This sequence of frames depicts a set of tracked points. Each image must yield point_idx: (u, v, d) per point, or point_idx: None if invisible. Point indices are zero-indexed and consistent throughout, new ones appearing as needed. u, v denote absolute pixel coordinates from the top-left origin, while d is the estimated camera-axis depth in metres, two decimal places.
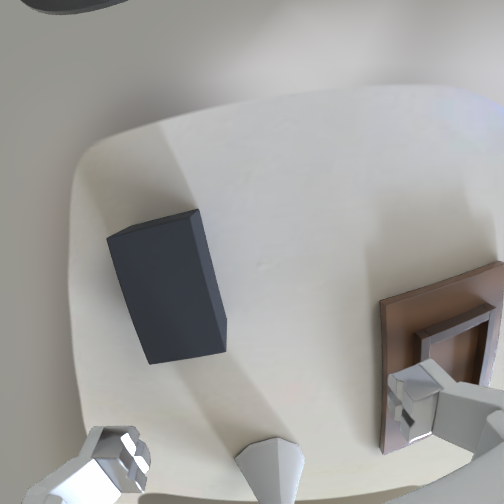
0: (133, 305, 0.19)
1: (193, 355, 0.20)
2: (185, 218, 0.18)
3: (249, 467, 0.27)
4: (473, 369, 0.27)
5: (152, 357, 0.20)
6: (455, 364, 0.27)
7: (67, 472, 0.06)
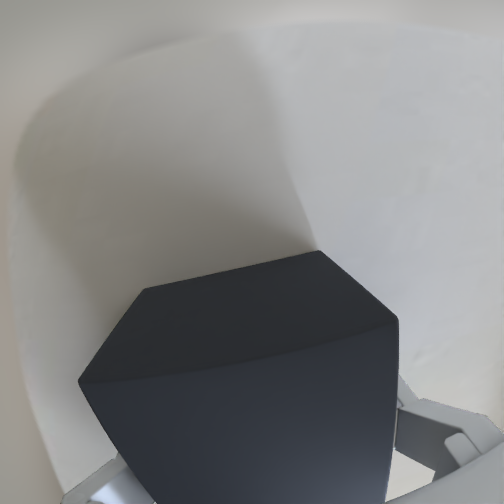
0: None
1: None
2: (380, 322, 0.05)
3: None
4: None
5: None
6: None
7: (106, 475, 0.06)
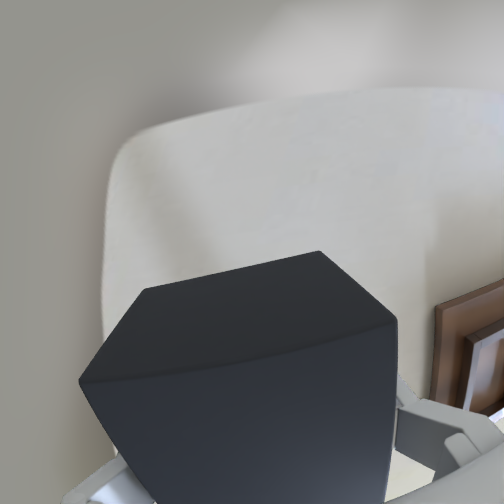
0: None
1: None
2: (380, 323, 0.05)
3: None
4: None
5: None
6: (496, 367, 0.24)
7: (106, 475, 0.06)
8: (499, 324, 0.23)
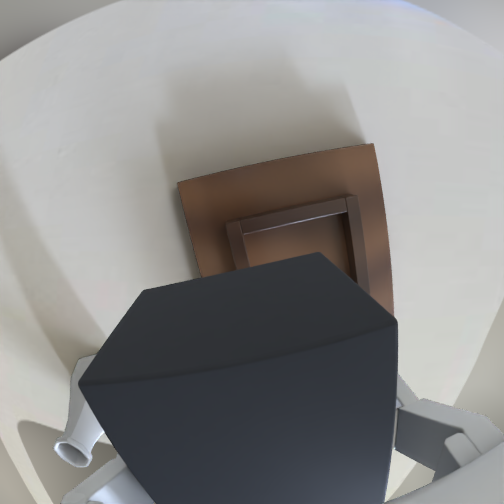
0: None
1: None
2: (380, 325, 0.05)
3: (73, 383, 0.24)
4: None
5: None
6: None
7: (107, 475, 0.06)
8: (284, 208, 0.23)
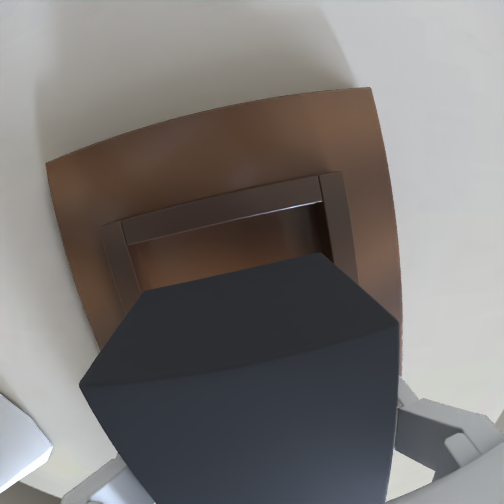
0: None
1: None
2: (381, 326, 0.05)
3: None
4: None
5: None
6: None
7: (106, 475, 0.06)
8: (203, 198, 0.12)
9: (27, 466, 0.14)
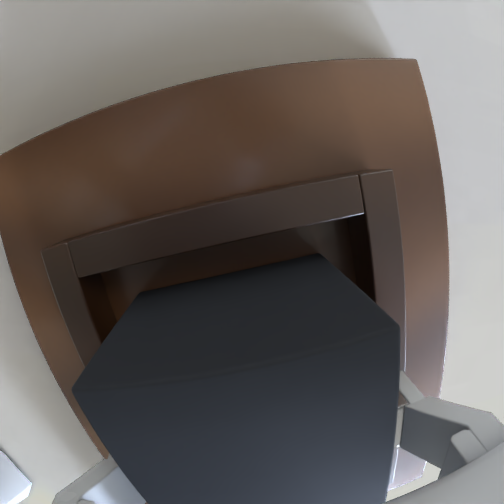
0: None
1: None
2: (382, 330, 0.05)
3: None
4: None
5: None
6: None
7: (98, 475, 0.06)
8: (186, 207, 0.08)
9: None
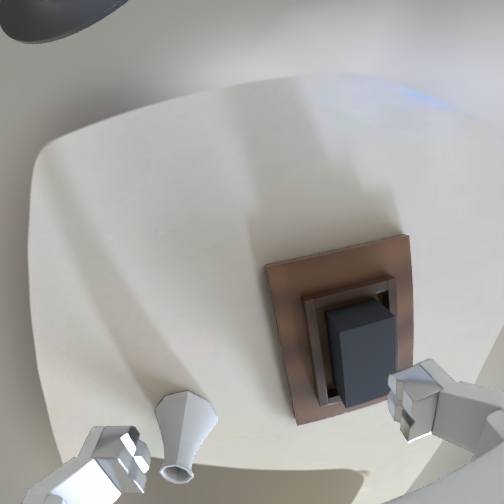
0: (347, 373, 0.27)
1: (376, 397, 0.28)
2: (392, 316, 0.26)
3: (162, 416, 0.32)
4: None
5: (350, 403, 0.28)
6: None
7: (67, 472, 0.06)
8: (344, 288, 0.30)
9: (207, 434, 0.32)
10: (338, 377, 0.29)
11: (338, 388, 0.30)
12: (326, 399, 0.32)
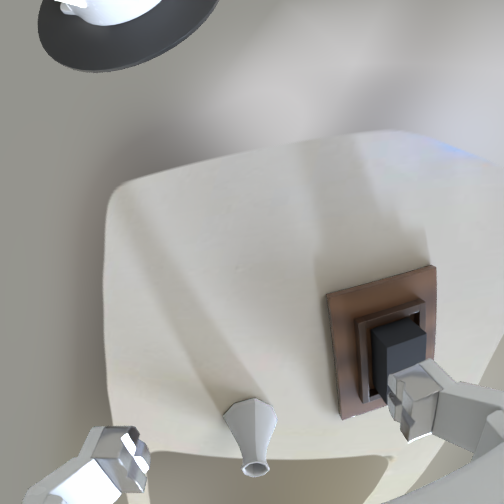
0: None
1: None
2: (424, 334, 0.33)
3: (233, 421, 0.38)
4: None
5: None
6: None
7: (67, 472, 0.06)
8: (387, 311, 0.36)
9: None
10: (380, 380, 0.36)
11: (379, 389, 0.37)
12: (368, 397, 0.38)
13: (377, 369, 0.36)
